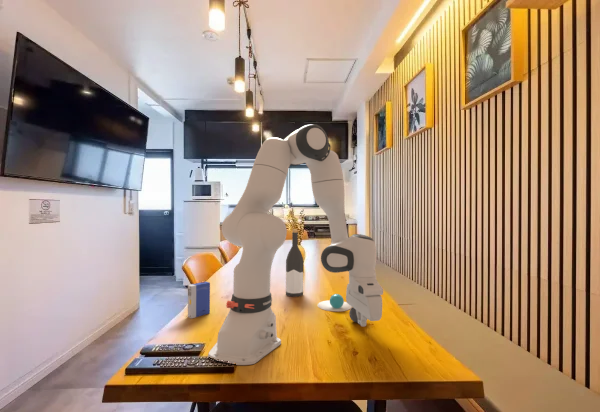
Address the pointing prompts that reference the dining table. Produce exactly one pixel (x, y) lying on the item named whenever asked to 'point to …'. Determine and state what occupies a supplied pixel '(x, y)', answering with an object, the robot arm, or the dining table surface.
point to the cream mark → (327, 306)
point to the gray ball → (353, 315)
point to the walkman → (198, 299)
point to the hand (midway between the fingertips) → (361, 324)
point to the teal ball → (336, 301)
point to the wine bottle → (294, 269)
